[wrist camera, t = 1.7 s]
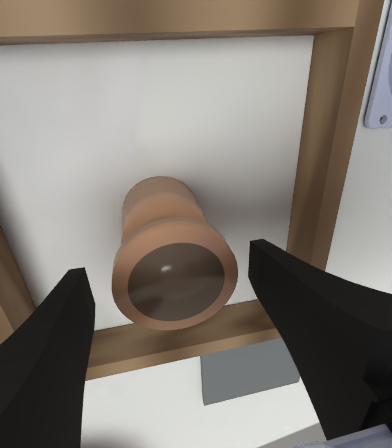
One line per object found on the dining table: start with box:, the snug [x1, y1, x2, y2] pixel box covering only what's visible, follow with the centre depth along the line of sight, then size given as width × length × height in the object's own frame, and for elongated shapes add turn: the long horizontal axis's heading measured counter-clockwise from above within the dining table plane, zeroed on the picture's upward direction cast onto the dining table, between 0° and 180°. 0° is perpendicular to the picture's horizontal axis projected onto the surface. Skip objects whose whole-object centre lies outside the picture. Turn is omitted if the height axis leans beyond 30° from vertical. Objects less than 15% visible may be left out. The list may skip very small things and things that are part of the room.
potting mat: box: [200, 338, 300, 406], centre depth 26 cm, size 10×10×1 cm
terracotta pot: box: [112, 176, 238, 330], centre depth 15 cm, size 5×5×7 cm
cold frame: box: [0, 0, 384, 381], centre depth 16 cm, size 30×20×3 cm
